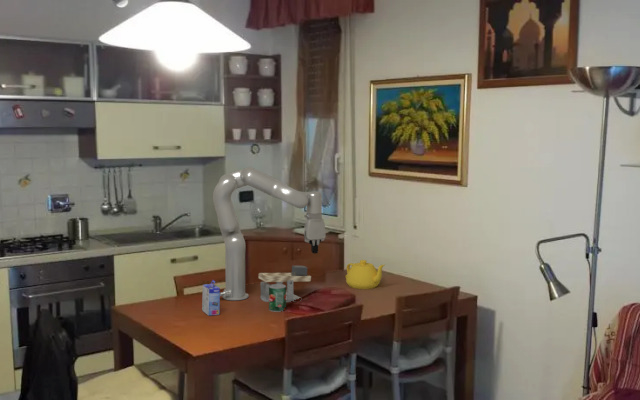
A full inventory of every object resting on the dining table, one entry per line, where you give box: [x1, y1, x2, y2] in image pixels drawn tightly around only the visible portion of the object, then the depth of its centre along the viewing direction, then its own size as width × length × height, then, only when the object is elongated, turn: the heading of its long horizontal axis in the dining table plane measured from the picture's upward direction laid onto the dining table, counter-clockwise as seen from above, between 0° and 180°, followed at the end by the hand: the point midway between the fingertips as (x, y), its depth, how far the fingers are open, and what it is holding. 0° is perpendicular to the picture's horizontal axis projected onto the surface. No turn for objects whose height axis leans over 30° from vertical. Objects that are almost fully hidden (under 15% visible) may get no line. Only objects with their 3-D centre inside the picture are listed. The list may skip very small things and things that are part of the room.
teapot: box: [345, 259, 385, 290], centre depth 344 cm, size 25×18×14 cm
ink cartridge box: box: [201, 279, 221, 317], centre depth 292 cm, size 10×6×14 cm, turn 27°
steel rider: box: [290, 265, 308, 276], centre depth 322 cm, size 6×5×5 cm
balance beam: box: [258, 272, 312, 283], centre depth 318 cm, size 24×9×3 cm, turn 119°
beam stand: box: [260, 280, 301, 303], centre depth 317 cm, size 16×16×10 cm
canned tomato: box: [268, 283, 287, 313], centre depth 298 cm, size 8×8×11 cm
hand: (314, 252), depth 325 cm, fingers closed
